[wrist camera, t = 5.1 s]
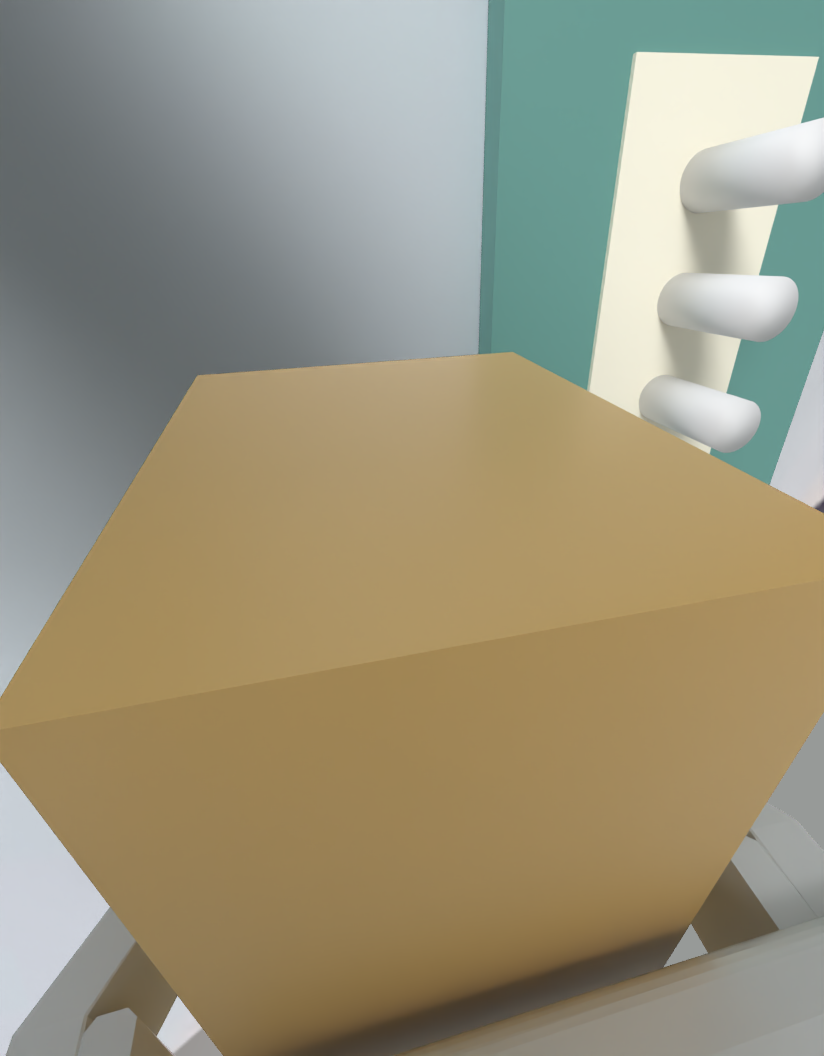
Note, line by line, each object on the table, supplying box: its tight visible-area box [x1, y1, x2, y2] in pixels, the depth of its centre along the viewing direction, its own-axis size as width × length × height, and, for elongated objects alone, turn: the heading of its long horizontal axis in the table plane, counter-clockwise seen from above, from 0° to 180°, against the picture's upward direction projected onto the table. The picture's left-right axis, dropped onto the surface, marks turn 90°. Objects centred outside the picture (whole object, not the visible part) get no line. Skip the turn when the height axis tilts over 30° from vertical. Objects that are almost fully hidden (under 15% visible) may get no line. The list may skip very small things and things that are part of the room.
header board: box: [479, 0, 824, 485], centre depth 19 cm, size 22×16×6 cm
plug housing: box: [0, 352, 824, 1056], centre depth 9 cm, size 14×6×7 cm, turn 2°
